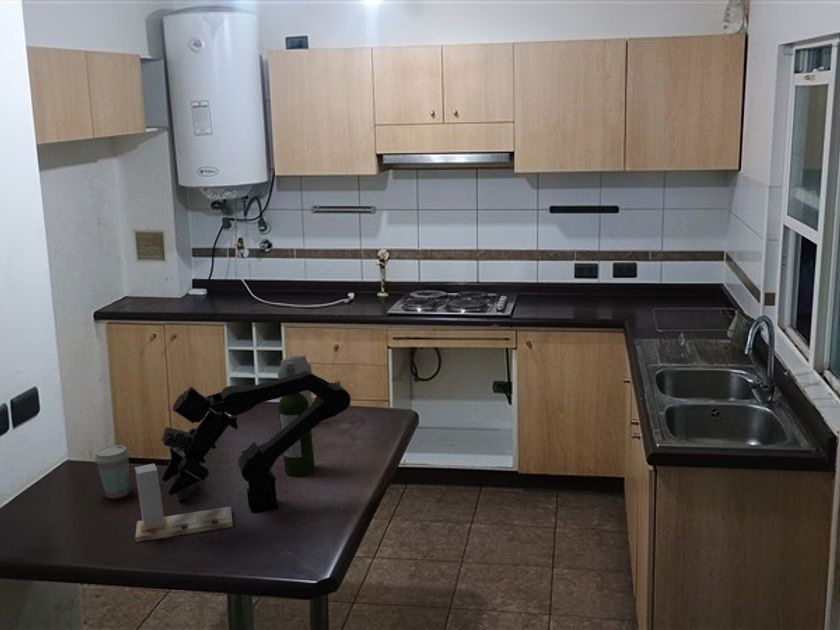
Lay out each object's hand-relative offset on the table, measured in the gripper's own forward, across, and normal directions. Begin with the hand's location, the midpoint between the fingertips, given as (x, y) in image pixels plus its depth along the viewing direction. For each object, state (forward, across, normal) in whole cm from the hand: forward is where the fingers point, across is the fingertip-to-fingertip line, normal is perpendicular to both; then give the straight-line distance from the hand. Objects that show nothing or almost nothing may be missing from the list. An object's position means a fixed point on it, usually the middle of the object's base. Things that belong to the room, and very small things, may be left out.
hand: (166, 487), depth 229 cm
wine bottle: (-18, -16, +33) cm, 41 cm away
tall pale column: (-25, -50, +40) cm, 69 cm away
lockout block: (+9, 0, +3) cm, 9 cm away
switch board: (+5, +2, +9) cm, 10 cm away
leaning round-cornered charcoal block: (+3, -21, +11) cm, 24 cm away
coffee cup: (+14, -27, 0) cm, 31 cm away
